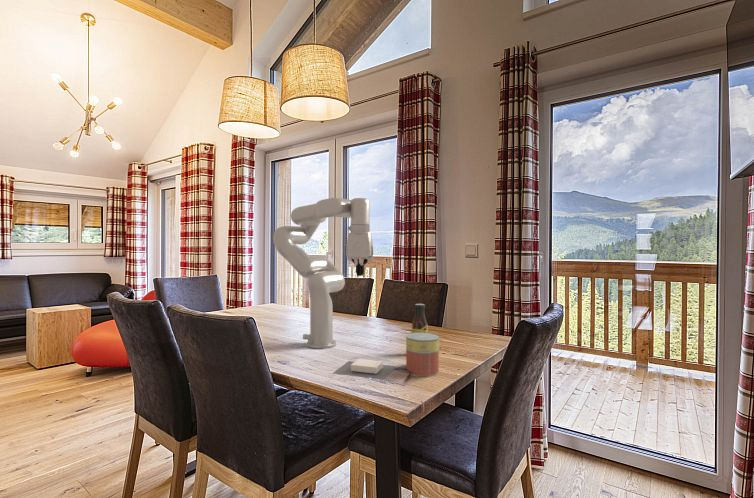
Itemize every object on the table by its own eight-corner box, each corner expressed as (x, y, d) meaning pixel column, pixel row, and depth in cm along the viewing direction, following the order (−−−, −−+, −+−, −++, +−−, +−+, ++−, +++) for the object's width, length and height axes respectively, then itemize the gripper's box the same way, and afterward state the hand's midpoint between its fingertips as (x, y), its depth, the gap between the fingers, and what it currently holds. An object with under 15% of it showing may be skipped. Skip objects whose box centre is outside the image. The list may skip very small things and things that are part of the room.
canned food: (417, 363, 140) (417, 330, 140) (445, 370, 132) (445, 335, 132) (399, 371, 131) (399, 336, 131) (427, 379, 124) (427, 342, 124)
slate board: (332, 376, 126) (332, 373, 126) (348, 363, 139) (348, 361, 139) (384, 382, 120) (384, 379, 120) (396, 368, 134) (396, 366, 134)
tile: (351, 364, 128) (376, 367, 125) (358, 358, 134) (383, 361, 131) (351, 371, 128) (376, 374, 125) (358, 365, 134) (383, 368, 131)
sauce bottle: (427, 357, 147) (427, 305, 147) (410, 356, 149) (411, 305, 148) (428, 352, 154) (428, 303, 154) (412, 351, 155) (412, 302, 155)
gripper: (339, 229, 151) (339, 275, 151) (374, 228, 146) (374, 276, 147) (346, 230, 158) (346, 274, 158) (380, 229, 153) (380, 275, 154)
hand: (360, 275), depth 152 cm, fingers closed
